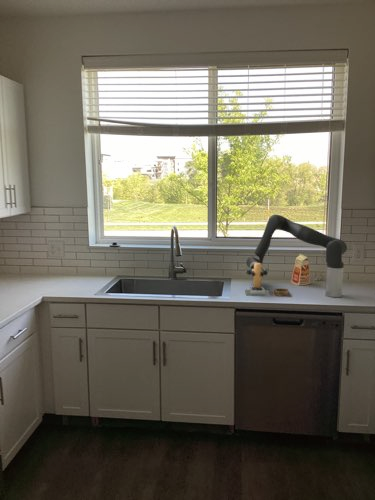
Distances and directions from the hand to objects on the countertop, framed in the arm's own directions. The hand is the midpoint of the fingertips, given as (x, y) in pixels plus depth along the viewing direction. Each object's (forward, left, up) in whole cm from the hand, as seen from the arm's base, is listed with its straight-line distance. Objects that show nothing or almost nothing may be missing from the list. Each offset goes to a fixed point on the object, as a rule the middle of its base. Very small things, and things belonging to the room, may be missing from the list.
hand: (257, 274), depth 244 cm
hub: (+1, -3, -13) cm, 13 cm away
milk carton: (-21, -41, -13) cm, 48 cm away
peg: (+1, -3, -8) cm, 8 cm away
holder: (-13, -5, -13) cm, 19 cm away
